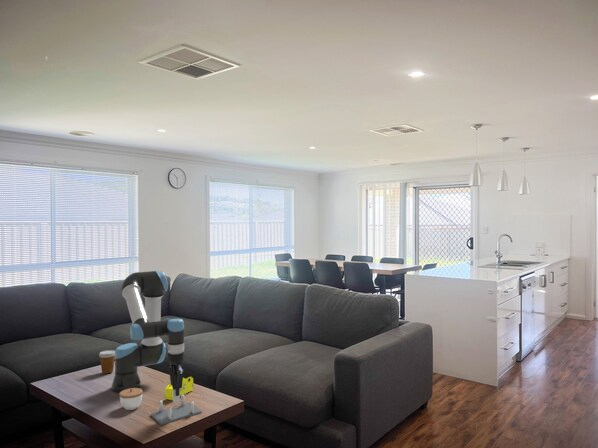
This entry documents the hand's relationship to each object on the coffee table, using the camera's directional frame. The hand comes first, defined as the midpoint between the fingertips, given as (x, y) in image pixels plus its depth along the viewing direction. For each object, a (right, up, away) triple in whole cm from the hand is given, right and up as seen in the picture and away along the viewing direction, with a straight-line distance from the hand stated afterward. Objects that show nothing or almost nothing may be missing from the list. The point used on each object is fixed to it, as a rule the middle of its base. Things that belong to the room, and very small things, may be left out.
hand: (176, 401), depth 213 cm
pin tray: (0, -6, 0) cm, 6 cm away
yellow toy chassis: (-5, -6, +24) cm, 25 cm away
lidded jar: (-25, -7, +9) cm, 27 cm away
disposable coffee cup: (-59, -6, +62) cm, 86 cm away
